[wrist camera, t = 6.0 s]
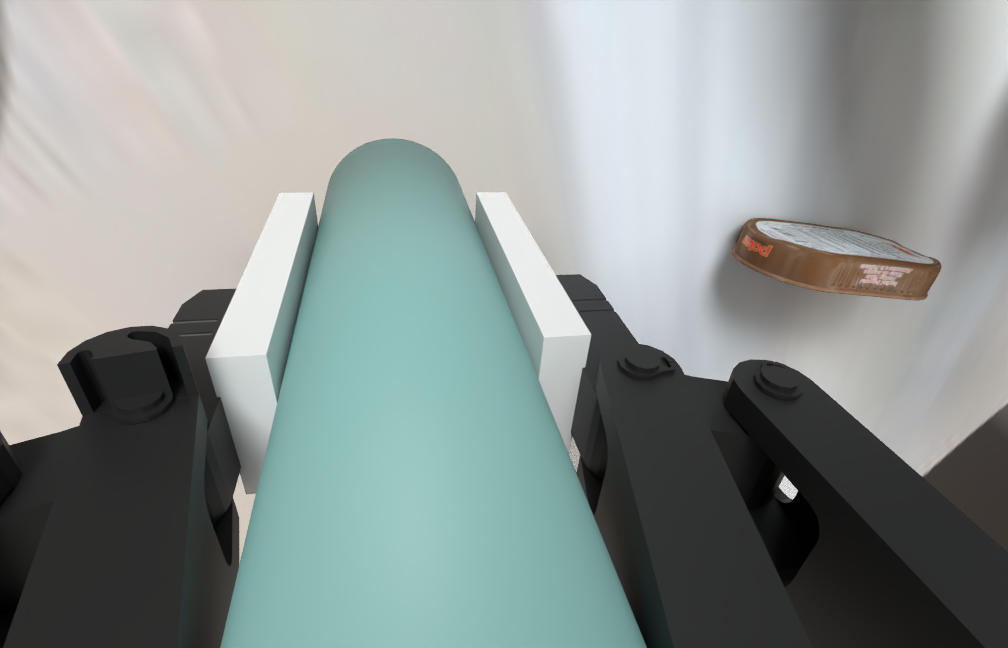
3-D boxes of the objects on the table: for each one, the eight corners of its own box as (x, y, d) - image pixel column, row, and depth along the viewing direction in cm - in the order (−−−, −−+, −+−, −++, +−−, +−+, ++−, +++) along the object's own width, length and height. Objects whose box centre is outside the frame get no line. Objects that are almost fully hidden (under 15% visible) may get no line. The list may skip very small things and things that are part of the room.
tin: (710, 243, 41) (778, 297, 34) (726, 204, 39) (801, 252, 32) (860, 260, 45) (948, 311, 38) (881, 225, 43) (977, 272, 36)
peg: (465, 139, 15) (759, 674, 3) (461, 266, 17) (636, 852, 6) (317, 137, 14) (63, 824, 3) (334, 270, 16) (233, 964, 5)
